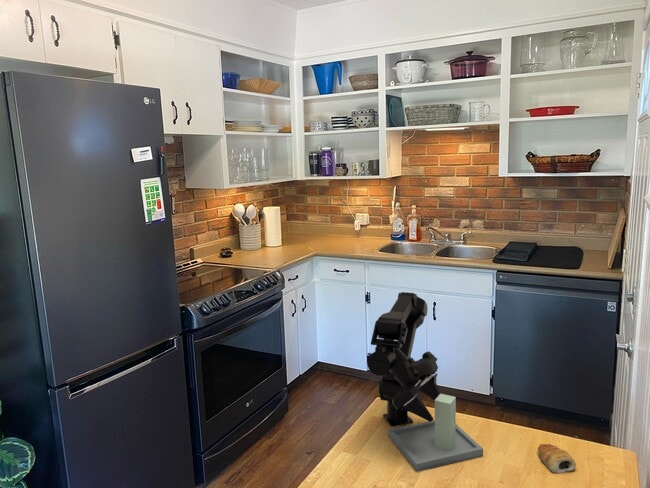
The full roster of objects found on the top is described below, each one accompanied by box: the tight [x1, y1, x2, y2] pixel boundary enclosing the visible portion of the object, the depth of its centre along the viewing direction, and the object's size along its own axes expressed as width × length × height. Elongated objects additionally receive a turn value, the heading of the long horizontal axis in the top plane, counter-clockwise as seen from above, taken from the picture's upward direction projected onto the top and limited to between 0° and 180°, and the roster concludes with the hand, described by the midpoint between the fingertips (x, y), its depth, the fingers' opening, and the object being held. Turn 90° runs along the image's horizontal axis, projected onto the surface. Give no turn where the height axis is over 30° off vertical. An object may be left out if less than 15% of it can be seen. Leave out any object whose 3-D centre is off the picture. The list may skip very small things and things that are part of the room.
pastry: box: [537, 443, 577, 474], centre depth 119 cm, size 9×7×4 cm
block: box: [434, 393, 457, 451], centre depth 125 cm, size 4×4×12 cm
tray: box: [387, 419, 484, 473], centre depth 127 cm, size 16×18×2 cm
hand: (438, 412), depth 126 cm, fingers open, 9 cm apart
